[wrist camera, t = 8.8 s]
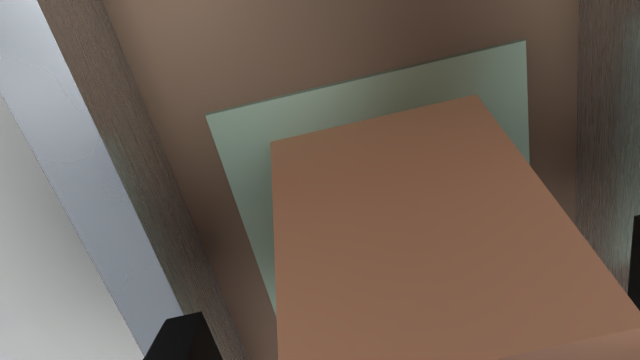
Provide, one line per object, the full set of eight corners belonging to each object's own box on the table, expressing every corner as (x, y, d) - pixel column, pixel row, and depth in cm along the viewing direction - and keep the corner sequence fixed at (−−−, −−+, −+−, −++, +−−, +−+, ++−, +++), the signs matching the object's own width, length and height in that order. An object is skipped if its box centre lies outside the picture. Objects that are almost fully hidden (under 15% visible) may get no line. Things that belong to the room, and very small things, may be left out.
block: (476, 94, 11) (650, 325, 6) (489, 254, 14) (627, 524, 8) (270, 141, 12) (279, 405, 6) (315, 293, 14) (348, 580, 9)
